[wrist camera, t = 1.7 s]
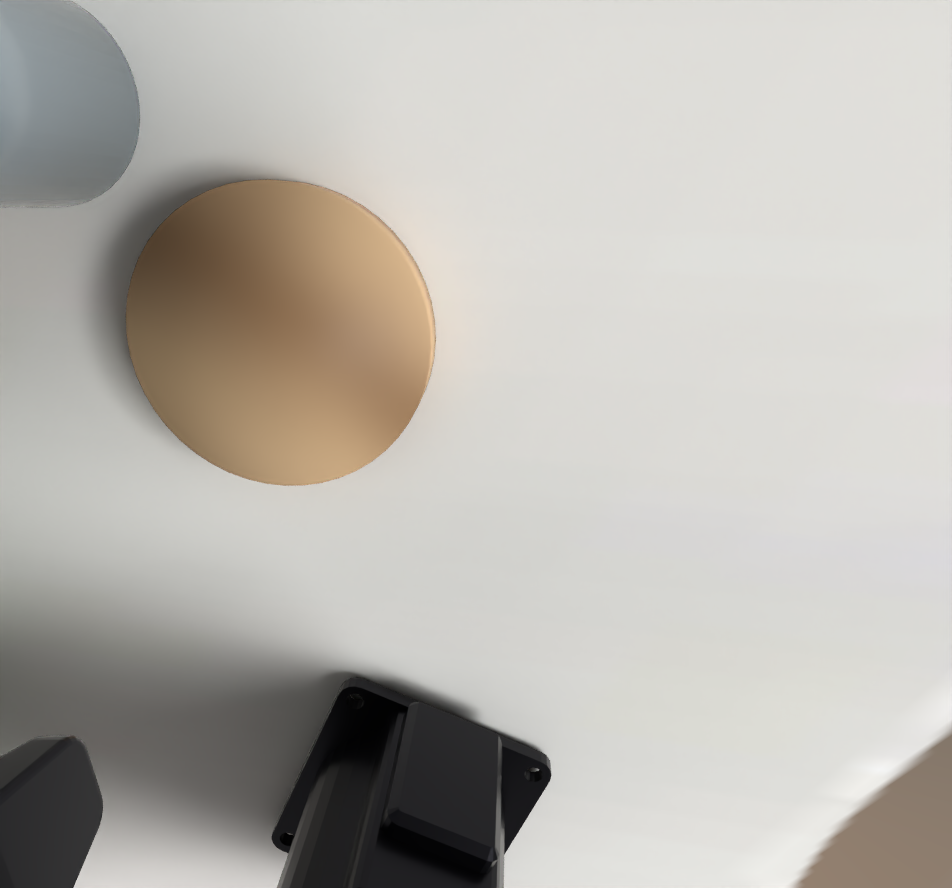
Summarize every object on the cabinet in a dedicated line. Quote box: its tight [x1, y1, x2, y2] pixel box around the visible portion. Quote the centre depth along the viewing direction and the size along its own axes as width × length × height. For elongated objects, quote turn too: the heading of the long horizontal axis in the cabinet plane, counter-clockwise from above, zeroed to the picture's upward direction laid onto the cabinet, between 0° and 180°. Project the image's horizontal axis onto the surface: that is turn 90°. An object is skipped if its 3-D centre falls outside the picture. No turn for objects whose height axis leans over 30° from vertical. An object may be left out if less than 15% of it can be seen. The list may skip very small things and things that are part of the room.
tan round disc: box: [126, 180, 436, 486], centre depth 17 cm, size 7×7×1 cm
